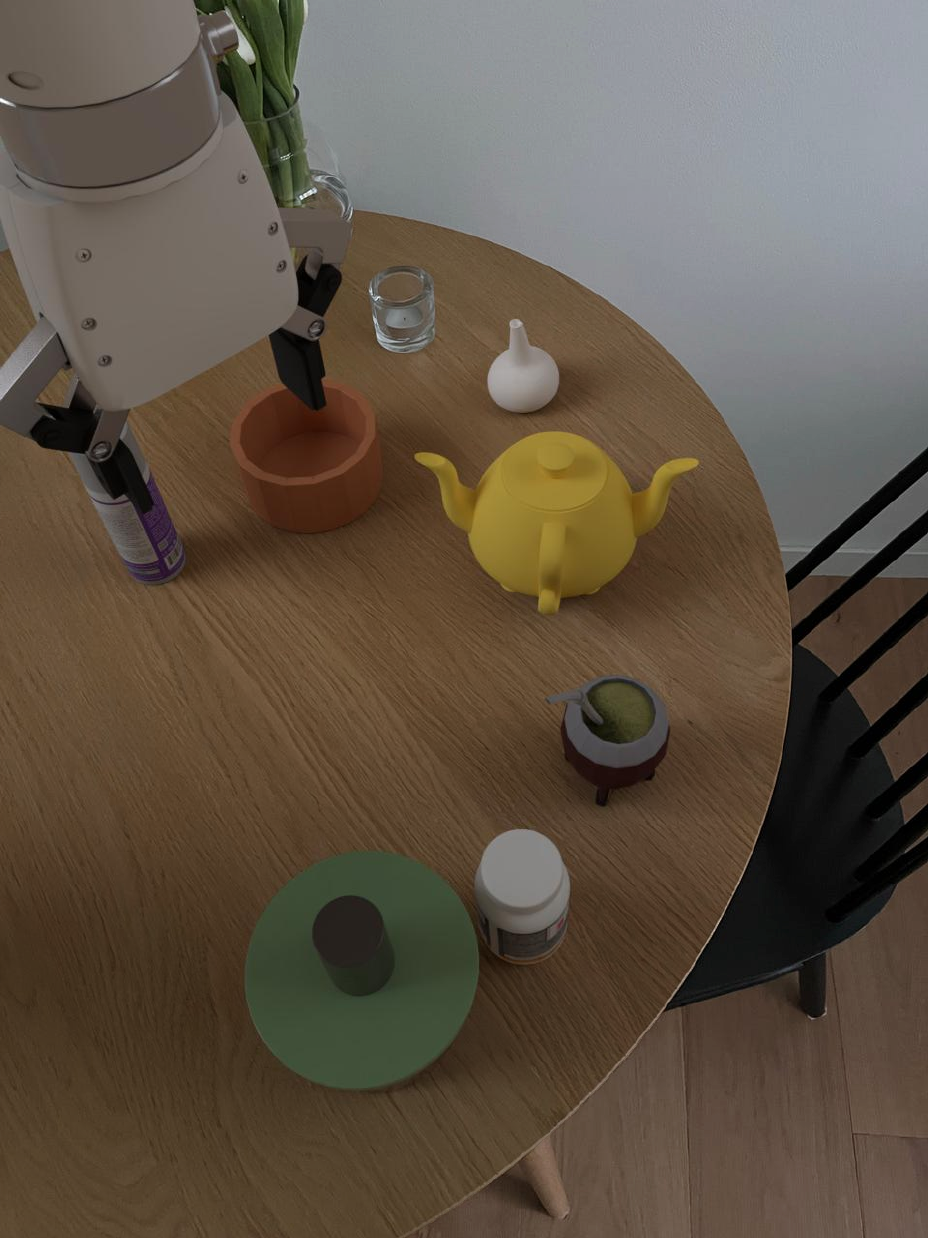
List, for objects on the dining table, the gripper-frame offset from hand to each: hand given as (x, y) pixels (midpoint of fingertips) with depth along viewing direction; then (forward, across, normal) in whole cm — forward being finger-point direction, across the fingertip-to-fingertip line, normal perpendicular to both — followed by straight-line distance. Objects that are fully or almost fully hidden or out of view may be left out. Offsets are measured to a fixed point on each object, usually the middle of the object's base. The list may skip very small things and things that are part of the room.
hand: (221, 442), depth 51 cm
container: (+31, +1, -22) cm, 37 cm away
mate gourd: (+31, -14, +15) cm, 37 cm away
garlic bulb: (+31, -34, -16) cm, 48 cm away
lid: (+21, +8, +18) cm, 29 cm away
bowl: (+30, -14, -20) cm, 39 cm away
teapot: (+31, -23, 0) cm, 38 cm away
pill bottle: (+31, -2, +20) cm, 36 cm away
